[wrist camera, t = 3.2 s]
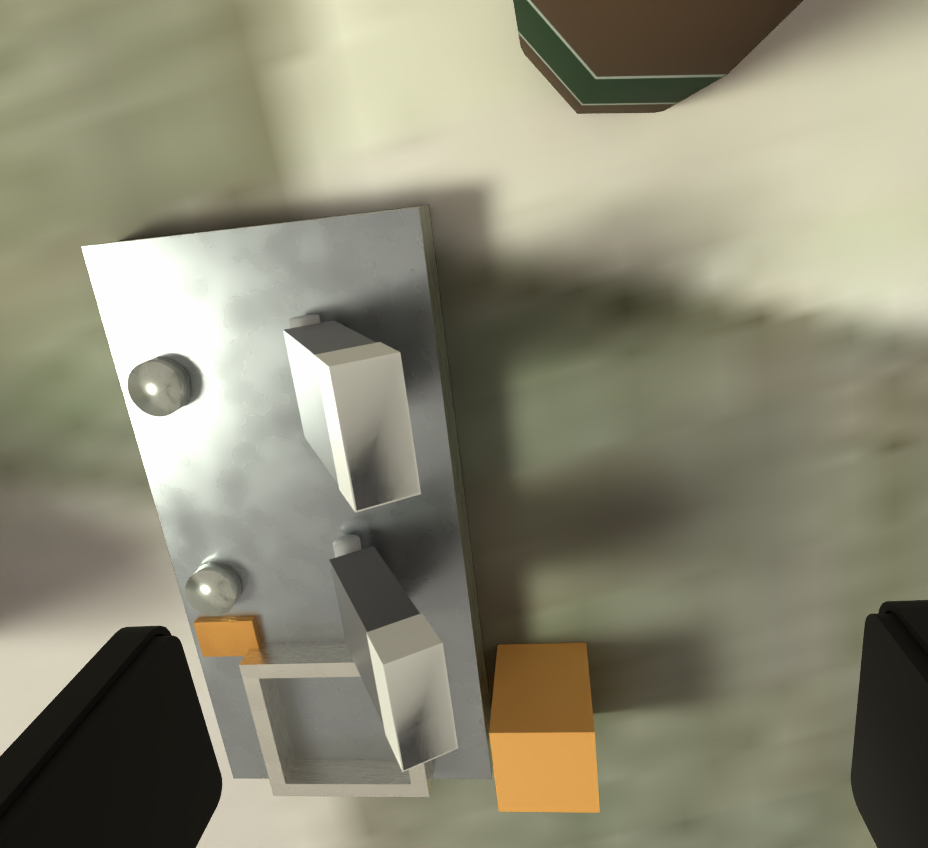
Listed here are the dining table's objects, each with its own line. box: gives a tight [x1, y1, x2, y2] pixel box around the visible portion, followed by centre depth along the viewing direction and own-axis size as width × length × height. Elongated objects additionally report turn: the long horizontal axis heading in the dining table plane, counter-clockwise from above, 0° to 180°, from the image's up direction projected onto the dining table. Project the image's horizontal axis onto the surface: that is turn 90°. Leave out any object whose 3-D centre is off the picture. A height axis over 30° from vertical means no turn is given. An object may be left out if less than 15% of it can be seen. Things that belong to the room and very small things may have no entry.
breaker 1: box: [283, 314, 421, 513], centre depth 24 cm, size 2×5×9 cm, turn 6°
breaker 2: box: [329, 534, 458, 772], centre depth 27 cm, size 2×5×9 cm, turn 6°
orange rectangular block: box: [489, 643, 600, 813], centre depth 33 cm, size 4×4×6 cm
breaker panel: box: [82, 205, 493, 797], centre depth 32 cm, size 14×28×4 cm, turn 6°
